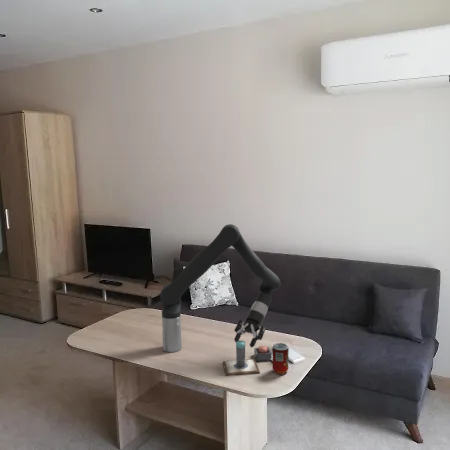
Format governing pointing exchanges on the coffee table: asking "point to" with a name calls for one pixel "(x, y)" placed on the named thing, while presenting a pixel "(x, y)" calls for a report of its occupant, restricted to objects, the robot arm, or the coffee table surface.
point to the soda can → (280, 358)
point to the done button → (262, 349)
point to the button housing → (262, 355)
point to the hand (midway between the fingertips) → (243, 344)
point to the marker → (240, 353)
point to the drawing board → (248, 369)
